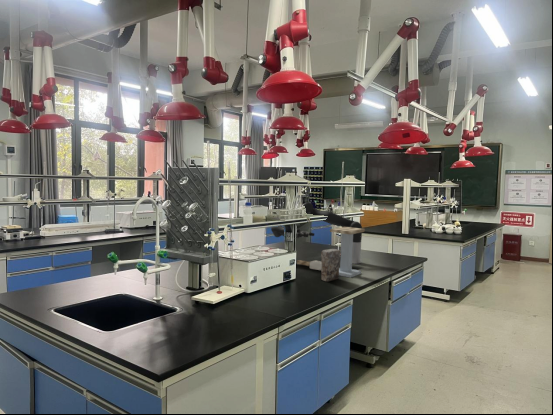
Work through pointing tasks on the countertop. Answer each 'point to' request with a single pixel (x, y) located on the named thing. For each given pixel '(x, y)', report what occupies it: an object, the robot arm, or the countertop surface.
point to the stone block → (330, 264)
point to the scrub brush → (311, 264)
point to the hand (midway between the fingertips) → (311, 235)
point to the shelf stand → (347, 250)
